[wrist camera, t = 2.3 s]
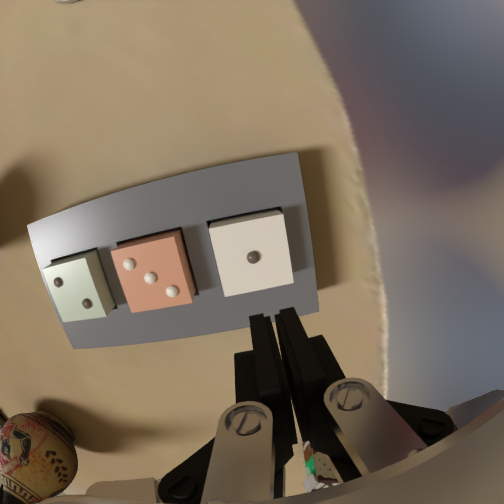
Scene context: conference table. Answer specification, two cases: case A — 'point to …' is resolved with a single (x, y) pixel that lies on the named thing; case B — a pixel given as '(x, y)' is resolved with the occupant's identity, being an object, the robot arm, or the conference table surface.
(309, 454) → the food container
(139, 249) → the button three dots
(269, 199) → the console
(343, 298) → the conference table surface
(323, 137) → the conference table surface
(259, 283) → the button one dot
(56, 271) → the button two dots
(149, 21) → the conference table surface
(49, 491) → the ceramic jug
